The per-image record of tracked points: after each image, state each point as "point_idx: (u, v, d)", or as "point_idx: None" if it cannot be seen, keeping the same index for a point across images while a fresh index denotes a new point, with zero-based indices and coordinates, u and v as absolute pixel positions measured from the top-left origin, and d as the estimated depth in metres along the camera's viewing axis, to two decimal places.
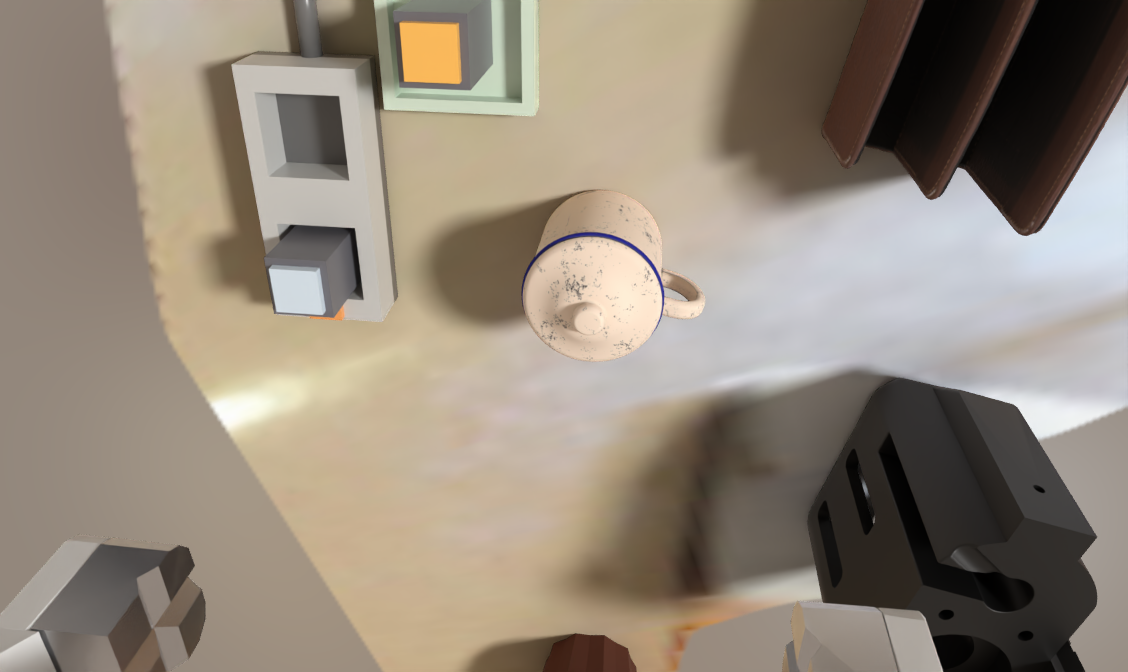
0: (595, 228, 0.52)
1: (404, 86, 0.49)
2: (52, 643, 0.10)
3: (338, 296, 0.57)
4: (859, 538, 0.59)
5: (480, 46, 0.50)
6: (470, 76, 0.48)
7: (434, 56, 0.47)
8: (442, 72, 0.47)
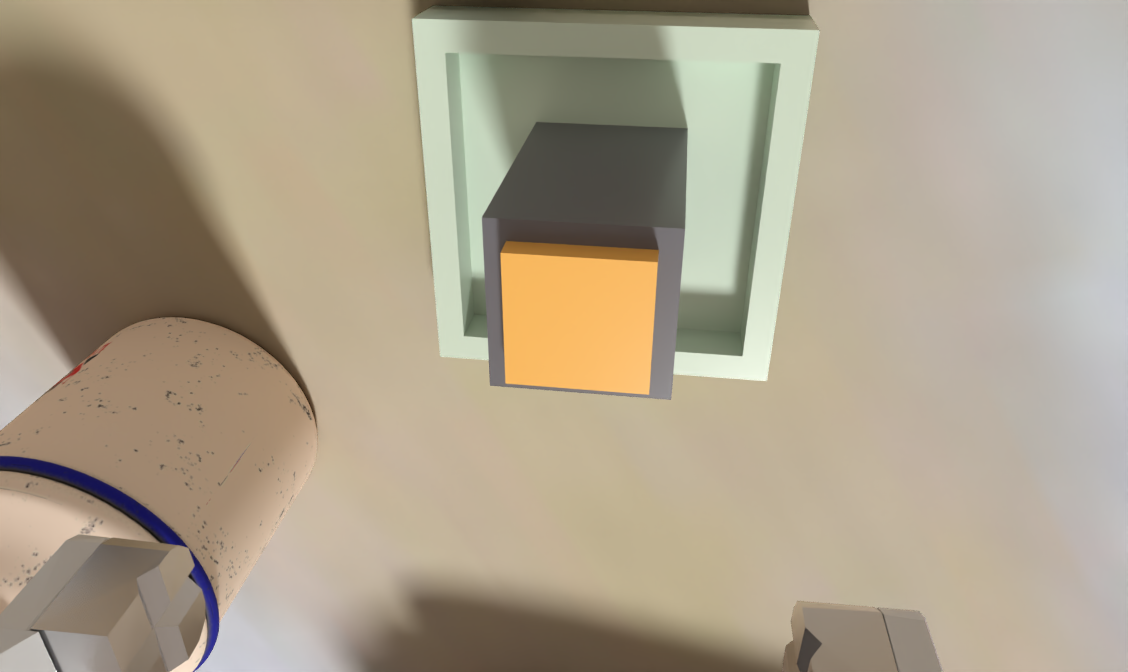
0: (226, 566, 0.25)
1: (485, 231, 0.18)
2: (52, 643, 0.10)
3: None
4: None
5: None
6: None
7: (570, 336, 0.18)
8: (531, 349, 0.18)
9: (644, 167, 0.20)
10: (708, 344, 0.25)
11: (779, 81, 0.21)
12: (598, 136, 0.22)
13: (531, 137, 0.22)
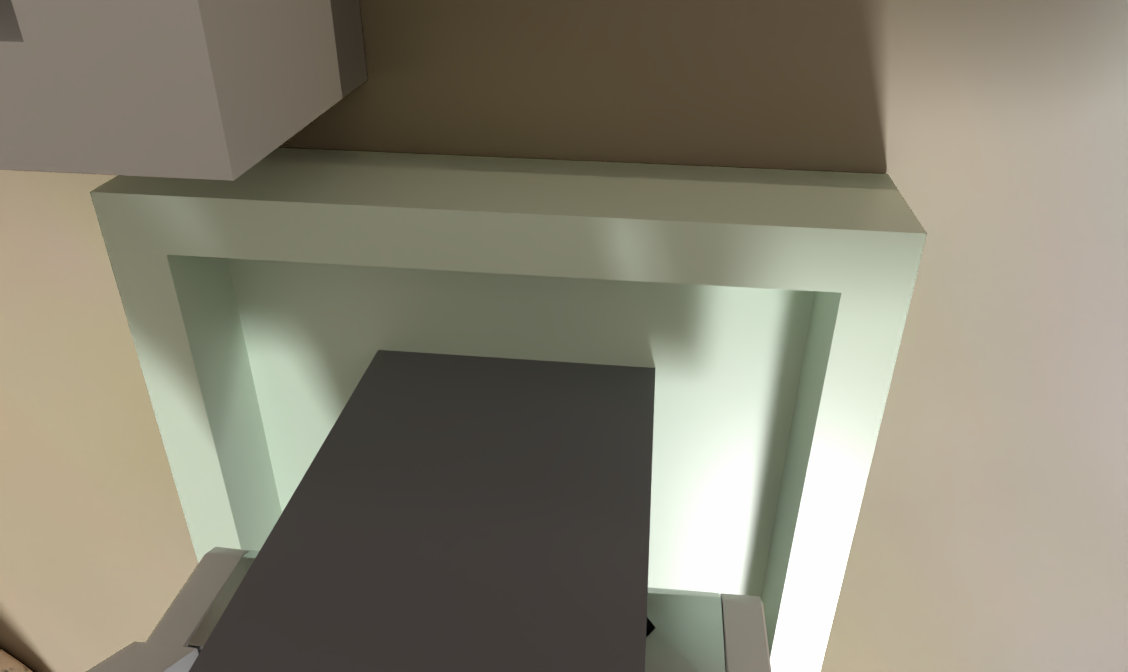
0: None
1: None
2: None
3: None
4: None
5: None
6: None
7: None
8: None
9: (561, 519, 0.10)
10: None
11: (837, 324, 0.10)
12: (483, 400, 0.12)
13: (354, 404, 0.12)
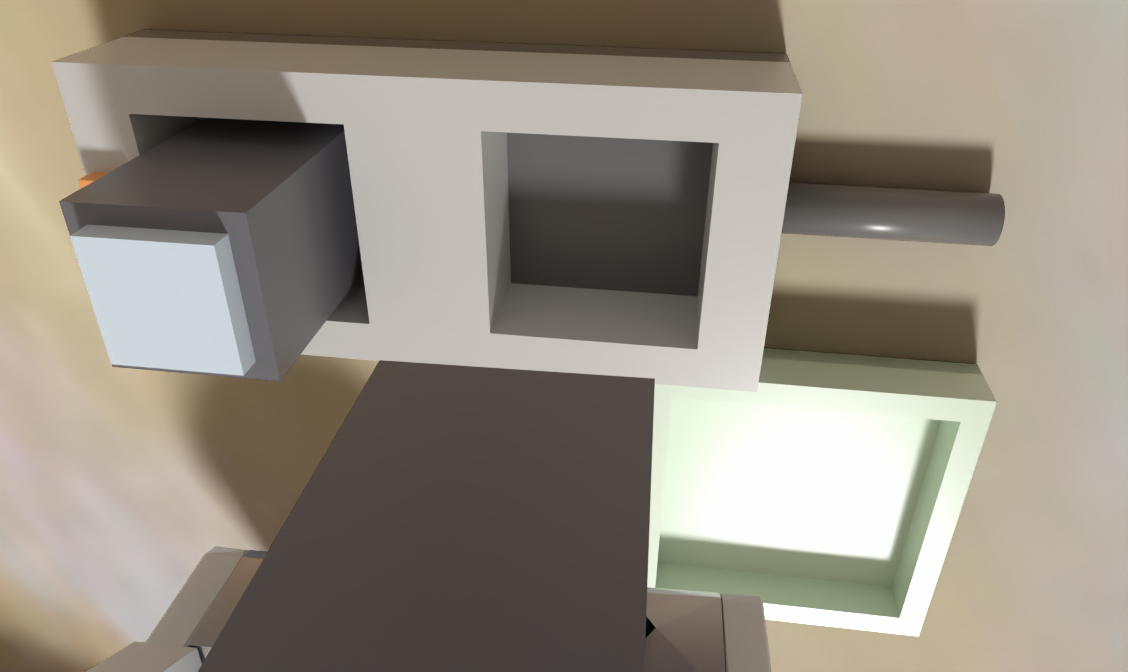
0: None
1: None
2: None
3: None
4: None
5: None
6: None
7: None
8: None
9: (560, 529, 0.10)
10: (867, 602, 0.29)
11: (957, 433, 0.25)
12: (484, 410, 0.12)
13: (355, 414, 0.12)
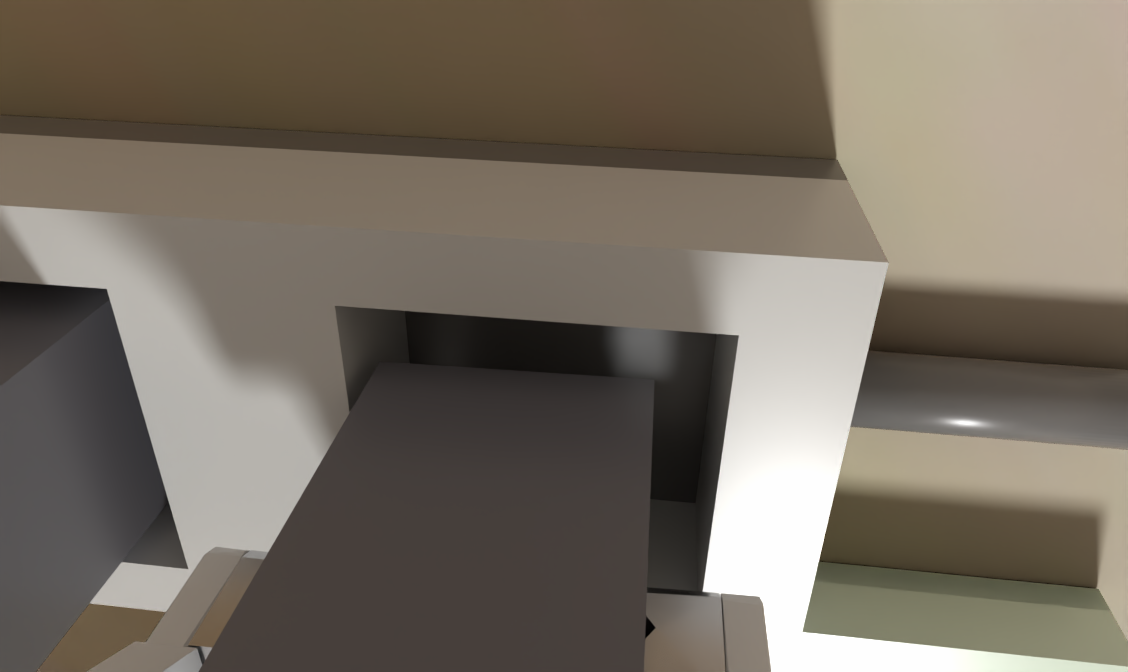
0: None
1: None
2: None
3: None
4: None
5: None
6: None
7: None
8: None
9: (559, 530, 0.10)
10: None
11: None
12: (483, 411, 0.12)
13: (355, 415, 0.12)
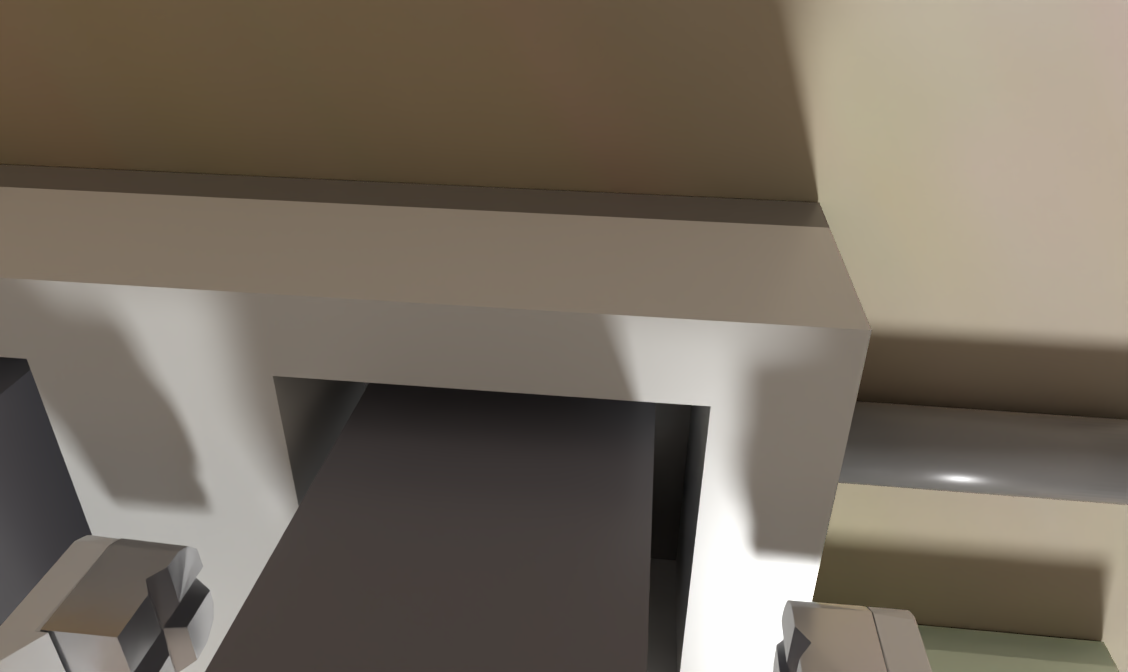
0: None
1: None
2: (62, 644, 0.10)
3: None
4: None
5: None
6: None
7: None
8: None
9: (571, 471, 0.11)
10: None
11: None
12: None
13: None
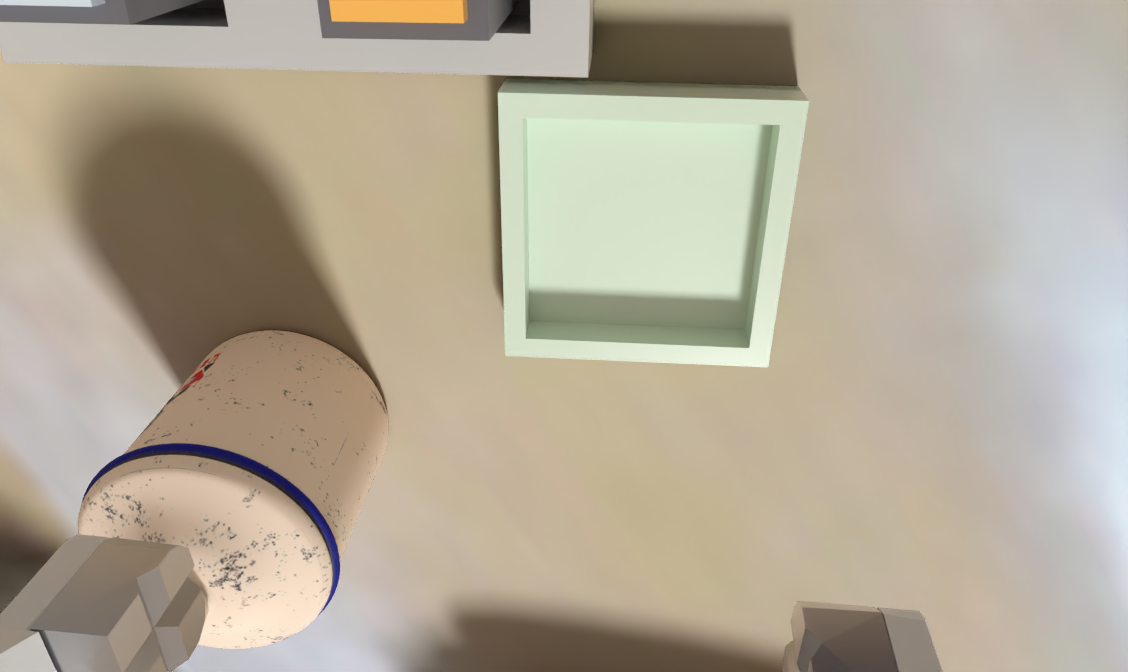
0: (342, 530, 0.30)
1: None
2: (52, 643, 0.10)
3: None
4: None
5: None
6: (353, 36, 0.21)
7: None
8: None
9: None
10: (721, 339, 0.32)
11: (779, 138, 0.27)
12: None
13: None
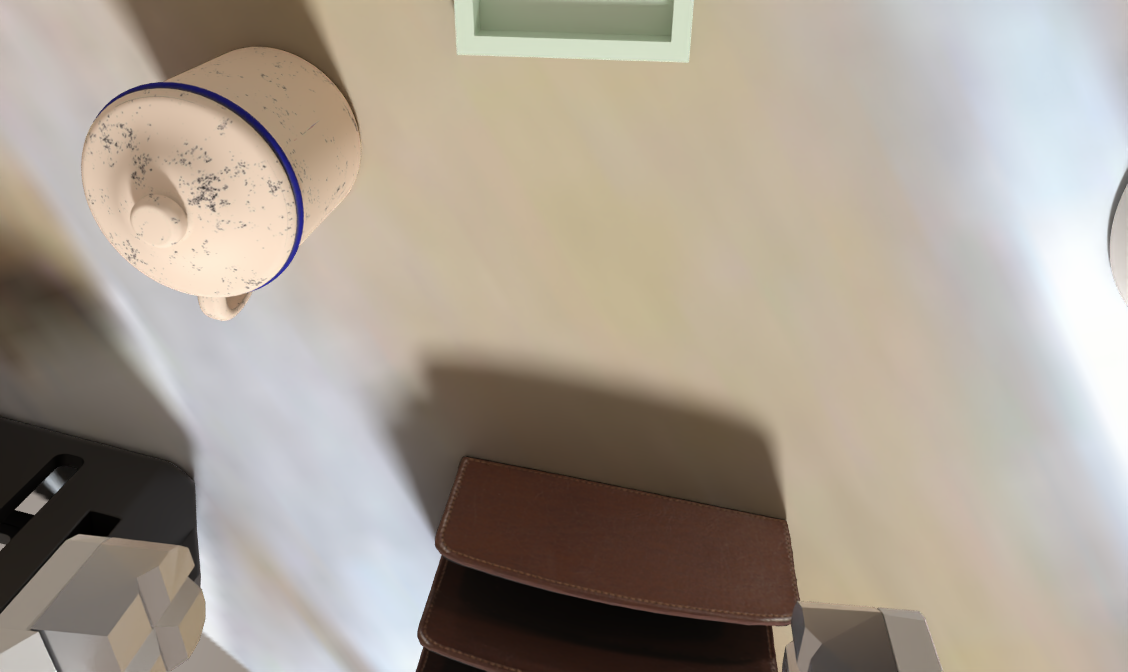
0: (307, 189, 0.35)
1: None
2: (52, 643, 0.10)
3: None
4: None
5: None
6: None
7: None
8: None
9: None
10: (648, 38, 0.36)
11: None
12: None
13: None
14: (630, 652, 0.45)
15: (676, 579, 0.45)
